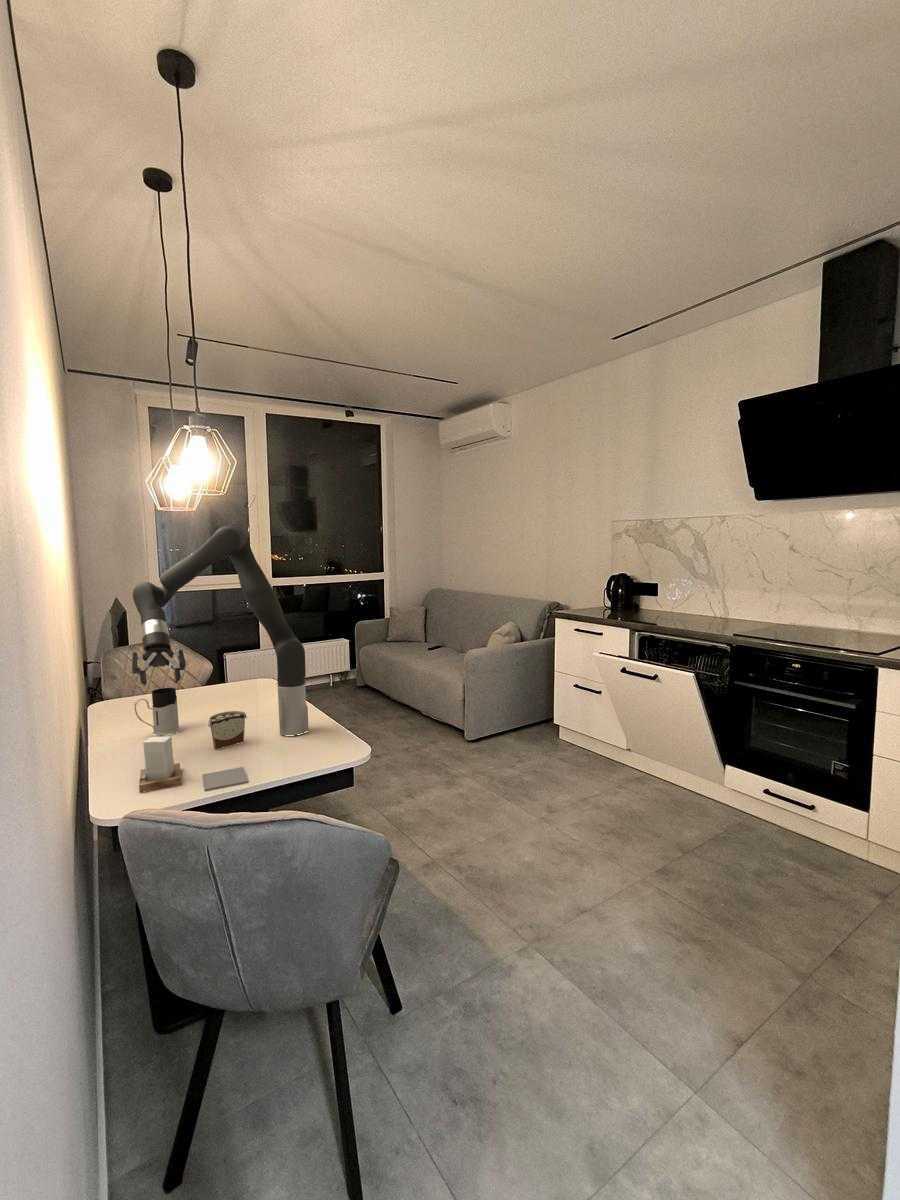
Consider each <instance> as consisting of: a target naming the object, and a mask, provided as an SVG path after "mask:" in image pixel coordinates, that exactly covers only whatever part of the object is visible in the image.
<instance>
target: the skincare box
mask: <svg viewBox="0 0 900 1200" xmlns="http://www.w3.org/2000/svg"><path fill="white" fill-rule="evenodd" d="M172 740H173V738H172V736H155V737H154V736H153V737H152V736H151V737H149V738H147V739H146V740H145V741H143V753H144V754H143V755H144V767H145V768H144V769H146V781H147V782H149V781H155V780H160V779H166V778H171V777H175V775H174V764H175V763H174V753H173V749H174V748H173V741H172Z"/></svg>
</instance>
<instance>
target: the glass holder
mask: <svg viewBox="0 0 900 1200" xmlns="http://www.w3.org/2000/svg"><path fill="white" fill-rule="evenodd" d="M151 698H152V699H151V700H152V701H151V702H152V706H151V707H150V704H149V701H148V700H147V699H145V698H139V699H137V700H136V701H135V702H134V712H135V715H136V718H137V719H138V720H139V721H140V722H142V723H144V724H145V725H148V726H150V727H152V728H153V732H152V735H153V734H156V735H167V734H172V733H175V734H177V733H176V732H178V731H179V730H180V731H181V727H180V725H179V709H178V708H179V707H178V696H177V690H176V688H175V687H162V688H157V689H154V690H152V691H151ZM142 700H143V701H145V702H146V706H147V709H149V710H151V711H152V721H153V725H152V724H150V723H148V722H146V721H144V720H143V719H142V718H141V717H140V716H139V714H138V711H137V704H138V702H140V701H142ZM180 731H179V732H180ZM179 732H178V733H179ZM172 735H173V734H172ZM167 736H168V735H167Z"/></svg>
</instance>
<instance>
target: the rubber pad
mask: <svg viewBox="0 0 900 1200" xmlns="http://www.w3.org/2000/svg"><path fill="white" fill-rule="evenodd" d="M201 776H202V782H203V783H202V784H203V788H204V792H207V791H213V790H217V789H223V788H227V787H232V786H238V785H243V784H248V783H249V779H248V777H247V774H246V771H245V768H244V766H239V767H234V768H230V769H223V770H219V771H214V772H207V773H203V774H201Z"/></svg>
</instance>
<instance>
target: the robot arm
mask: <svg viewBox="0 0 900 1200" xmlns="http://www.w3.org/2000/svg"><path fill="white" fill-rule="evenodd" d="M226 557H228V558H229V560H230V561H231V563H232V565H233V566H234V569H235V571H236V573H237V577H238V581H239V585H240V589H241V592H242V595H243V596H244V598H245V600H246V602H247V604H248V607H249V608H250V609H251V611H252V613H253V614H254V616H255V617H256V619H257V620H258V621H259V623H260V625H262V627H263V629H264V630H265V631H266V633H267V635H268V636H269V639H270V641H271V644H272V646H273V649H274V651H275V655H276V668H277V679H276V680H277V697H278V698H277V702H278V704H277V705H278V720H279V724H278V725H279V727H278V728H279V735H280V734H282V735H297V734H301V733H304V732H306V731H309V708H308V707H309V706H308V704H307V697H306V696H307V695H306V694H307V693H306V675H307V673H306V671H307V669H306V650H305V647H304V645H303V644H302V642H301V641H300V640H299V639H298V638H297V636H296V635H295V633H294V632H293V630H292V629H291V627H290V626H289V624H288V622H287V620H286V618H285V615H284V612H283V608H282V606H281V604H280V601H279V598H278V597H277V594H276V593H275V591H274V589H273V587H272V585H271V583H270V581H269V580H268V577H266V575H265V573H264V571H263V569H262V568H261V566H260V564H259V563H258V561H257V559H256V557H255V555H254V552H253V550H252V548H251V545H250V543H249V541H248V537H247V535H246V534H245V531H244V530H243V529H242V528H240V527H239V526H236V525H234V524H231V525H226V526H225V525H224V526H222V527H219V528H218V529H217V530H215V532H214V533H213V535H211V536H210V538H209V539H208V540H206V542H204V544H202V545H201V546H199V548H197V549H196V550H195V551H193V552H192V553H191V554H189V555H188V556H186V557H185V558H183V559H181V560H180V561H178V562H177V563H175V564H174V565H172V566H171V567H169V568H168V569H166V570H165V571H164V572H162V573H161V574H160V576H159V582H160V584H161V585H162V586H161V587H159V586H157V585H155V584H153V582H149V581H140V582H139V583H136V585H135V586H134V588H133V590H132V599H133V603H134V605H135V607H136V610H137V612H138V613H139V616H140V623H141V624H140V625H141V633H140V634H141V641H142V651H143V653H138V652H136V651H135V652H133V653H132V656H131V673H132V674H134V675H135V674H138V675H139V682H140V684H141V685H143V686H147V684H148V683H147V682H148V681H147V680H148V679H147V671H148V670H149V669H150V668H151V667H153V668H157V667H161V668H162V667H165V666H166V667H167V668H168V669H170V670H172V671H173V677H174V683H175V684H176V683H179V682H180V681H181V677H182V676H181V671H185V669H186V665H187V663H186V659H185V653H184V651H183V649H179V650H178V651H173V650H172V647H171V640H170V634H169V633H170V631H169V628H168V623H167V618H166V617H167V616H166V612H165V610H164V609H163V608H164V607H165V606H166V605H167V604H168V603H169V602H170V600H171V599H172V598H173V597H174V596H175V594H176V593H177V592H178V590H181V588H184V586H186V585H187V584H189V583H190V582H192V581H193V580H194V579H195V578H197V577H198V576H199V575H200V574H201V573H203V572H204V571H205V570H206V569H207V568H208V567H210V566H212V565H213V564H215V563H217V562H218V561H220V560H223V559H224V558H226ZM173 657H175V659H176V660H178V663H177V662H176V661H175V660H174V659H173ZM141 659H142V660H143V661H144V663H143V664H142V666H141V667H139V666H138V662H140V660H141ZM304 734H305V733H304ZM282 735H281V736H282Z"/></svg>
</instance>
